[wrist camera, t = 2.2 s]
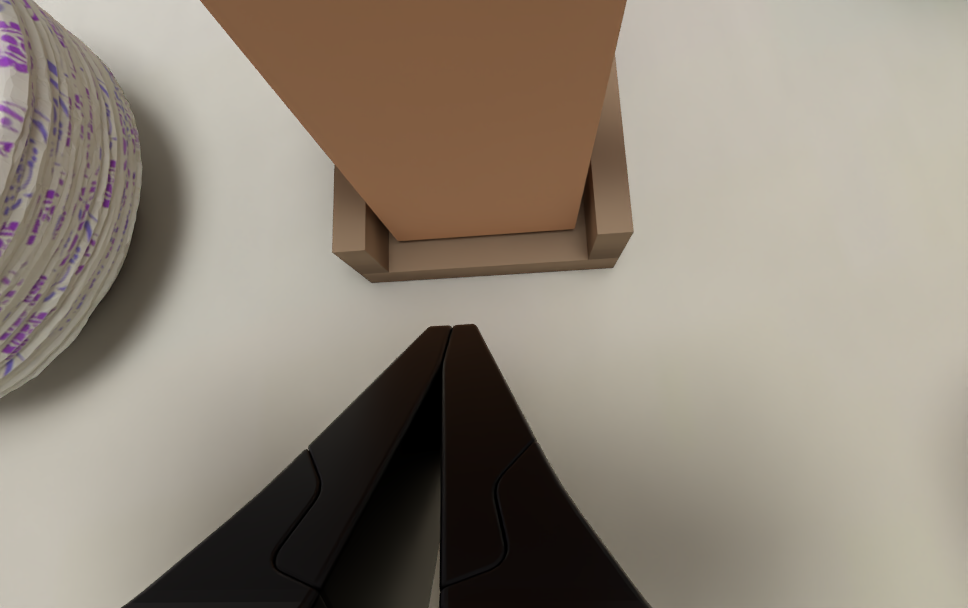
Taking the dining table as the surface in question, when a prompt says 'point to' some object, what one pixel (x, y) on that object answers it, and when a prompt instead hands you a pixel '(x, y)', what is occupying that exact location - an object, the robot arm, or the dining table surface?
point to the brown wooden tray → (584, 247)
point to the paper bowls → (58, 188)
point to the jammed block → (442, 101)
